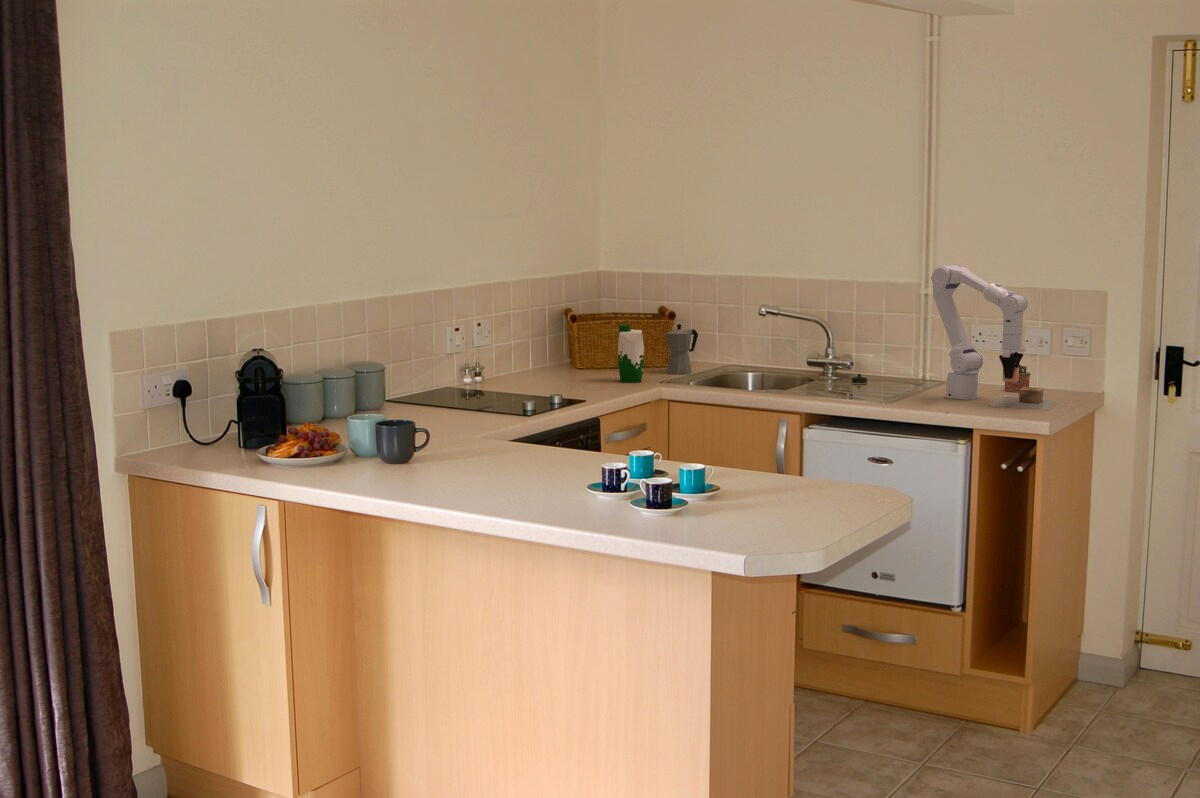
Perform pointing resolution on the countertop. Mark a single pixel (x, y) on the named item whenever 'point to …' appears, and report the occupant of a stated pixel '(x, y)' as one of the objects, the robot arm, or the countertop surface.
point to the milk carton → (630, 354)
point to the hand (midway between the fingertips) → (1010, 377)
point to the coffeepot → (680, 350)
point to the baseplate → (1024, 404)
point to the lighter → (1019, 384)
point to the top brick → (1015, 376)
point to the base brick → (1031, 395)
